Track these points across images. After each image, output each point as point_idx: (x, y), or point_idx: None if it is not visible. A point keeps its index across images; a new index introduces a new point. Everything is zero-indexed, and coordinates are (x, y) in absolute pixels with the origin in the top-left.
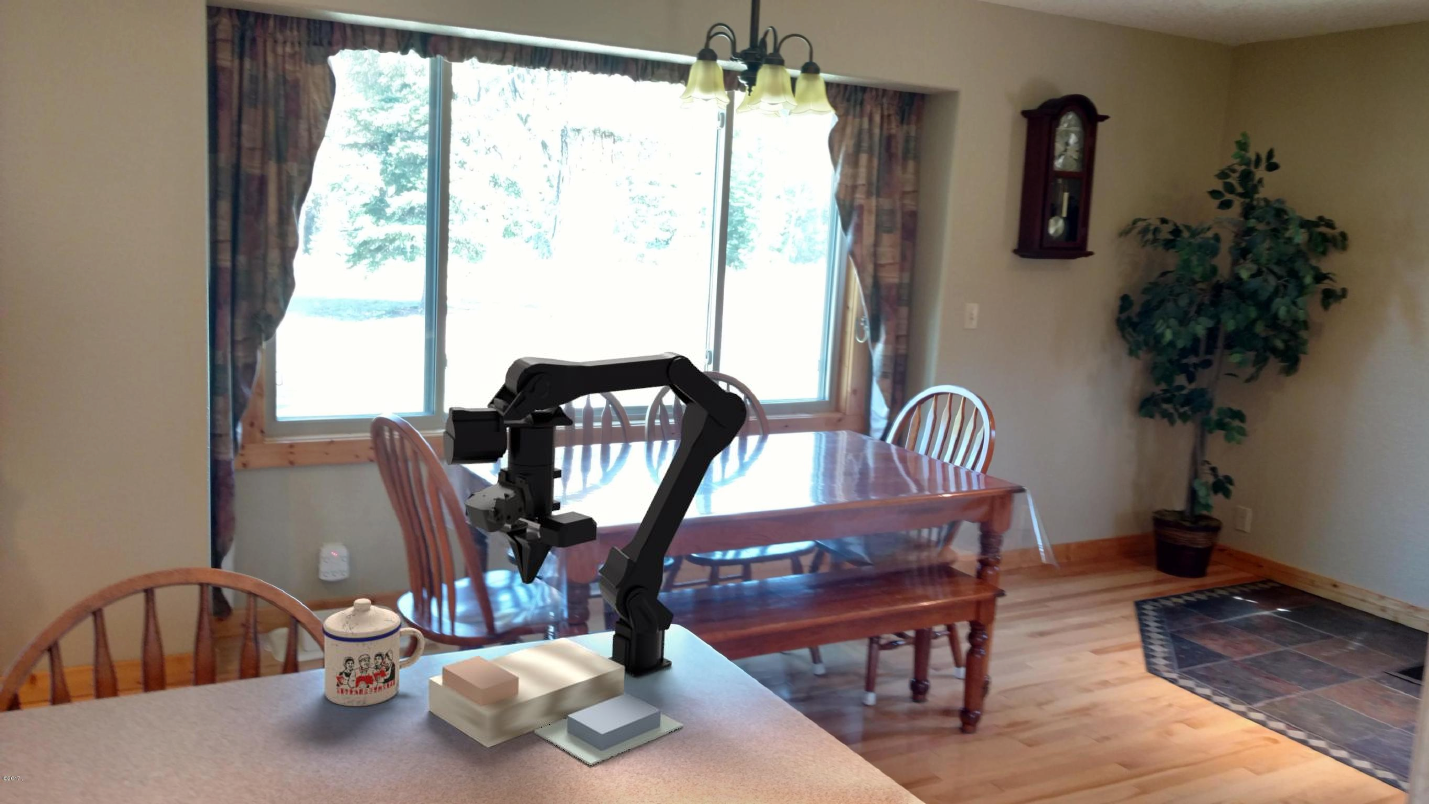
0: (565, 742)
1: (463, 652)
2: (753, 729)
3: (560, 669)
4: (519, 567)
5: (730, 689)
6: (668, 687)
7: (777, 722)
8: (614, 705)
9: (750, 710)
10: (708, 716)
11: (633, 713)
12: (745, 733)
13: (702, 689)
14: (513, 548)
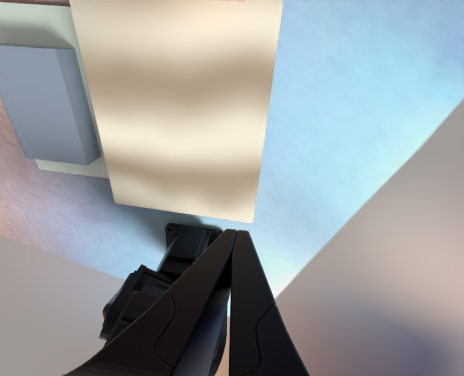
0: (45, 20)
1: (425, 137)
2: (14, 206)
3: (154, 135)
4: (247, 266)
5: (98, 254)
6: (132, 226)
7: (21, 228)
8: (59, 127)
9: (51, 233)
10: (54, 202)
11: (29, 127)
12: (9, 196)
13: (110, 241)
14: (275, 352)
